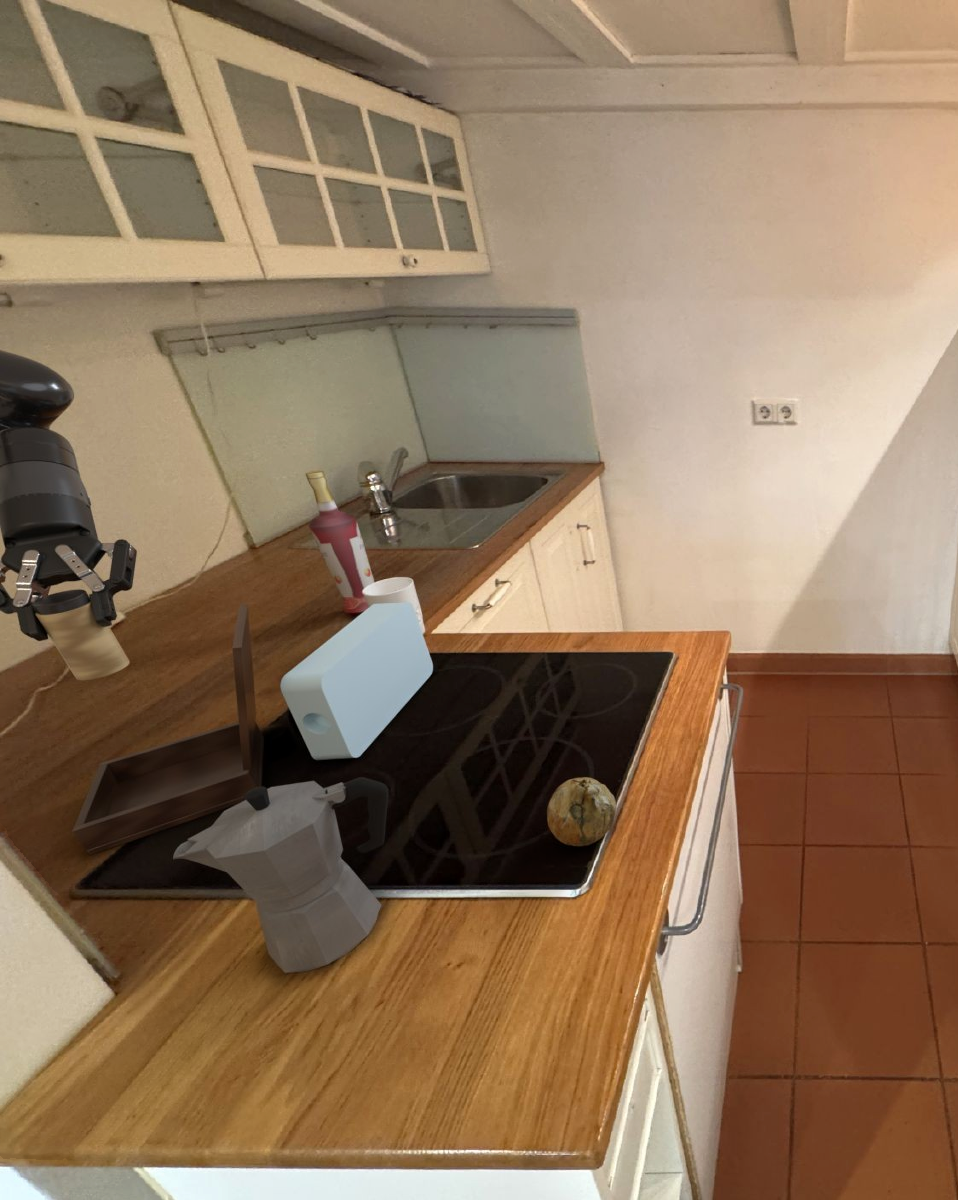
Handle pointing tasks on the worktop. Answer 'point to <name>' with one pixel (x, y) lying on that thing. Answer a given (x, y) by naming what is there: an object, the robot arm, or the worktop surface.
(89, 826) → the chest
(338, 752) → the pale blue rectangular block
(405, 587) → the white cup
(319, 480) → the liquor
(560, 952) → the worktop surface
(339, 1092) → the worktop surface
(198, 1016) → the worktop surface
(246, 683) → the chest lid
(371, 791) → the coffeepot
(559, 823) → the onion
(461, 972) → the worktop surface
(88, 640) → the beige jar
